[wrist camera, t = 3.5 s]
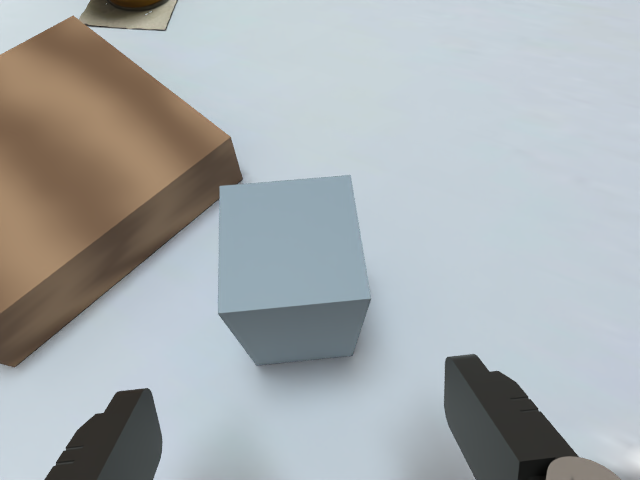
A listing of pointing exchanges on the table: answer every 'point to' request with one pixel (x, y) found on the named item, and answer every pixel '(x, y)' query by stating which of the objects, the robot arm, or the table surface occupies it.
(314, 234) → the slate block
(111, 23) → the condiment
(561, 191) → the table surface
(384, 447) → the table surface
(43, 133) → the walnut plinth
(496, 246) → the table surface
